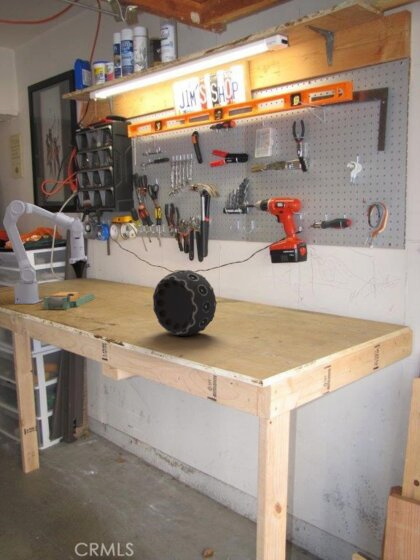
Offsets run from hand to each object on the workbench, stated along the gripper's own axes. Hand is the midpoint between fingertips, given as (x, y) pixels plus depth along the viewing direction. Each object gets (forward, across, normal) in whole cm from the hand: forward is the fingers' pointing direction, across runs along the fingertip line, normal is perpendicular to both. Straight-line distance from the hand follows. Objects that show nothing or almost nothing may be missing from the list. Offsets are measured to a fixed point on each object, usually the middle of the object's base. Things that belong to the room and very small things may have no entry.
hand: (79, 277), depth 227 cm
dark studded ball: (+9, -61, -61) cm, 87 cm away
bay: (+9, -13, 0) cm, 16 cm away
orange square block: (+10, -15, 0) cm, 18 cm away
